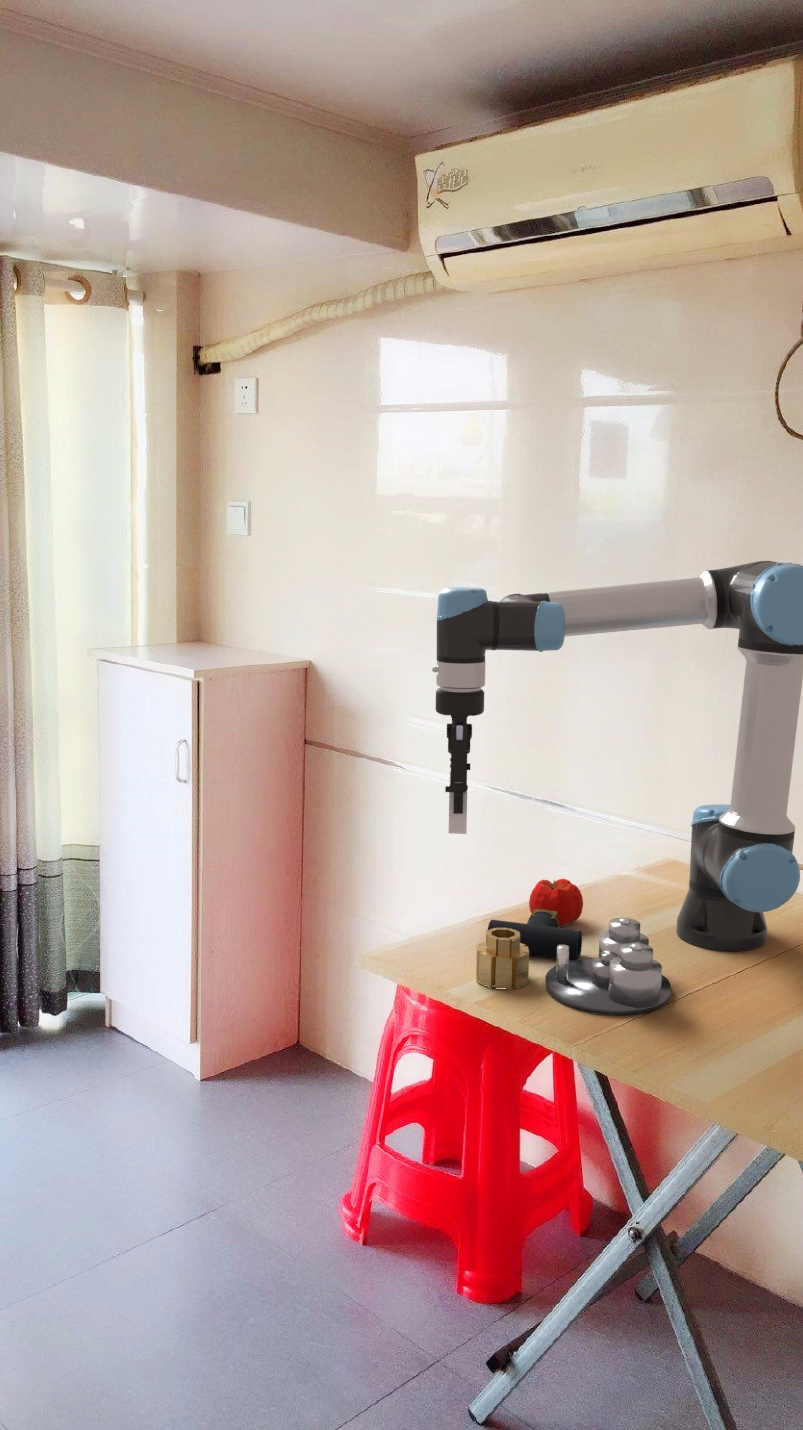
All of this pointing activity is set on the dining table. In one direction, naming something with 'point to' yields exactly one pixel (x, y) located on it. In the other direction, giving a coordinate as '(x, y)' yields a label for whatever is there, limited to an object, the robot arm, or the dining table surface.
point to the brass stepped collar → (502, 959)
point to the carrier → (611, 975)
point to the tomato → (558, 899)
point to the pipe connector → (544, 934)
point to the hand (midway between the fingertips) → (457, 821)
